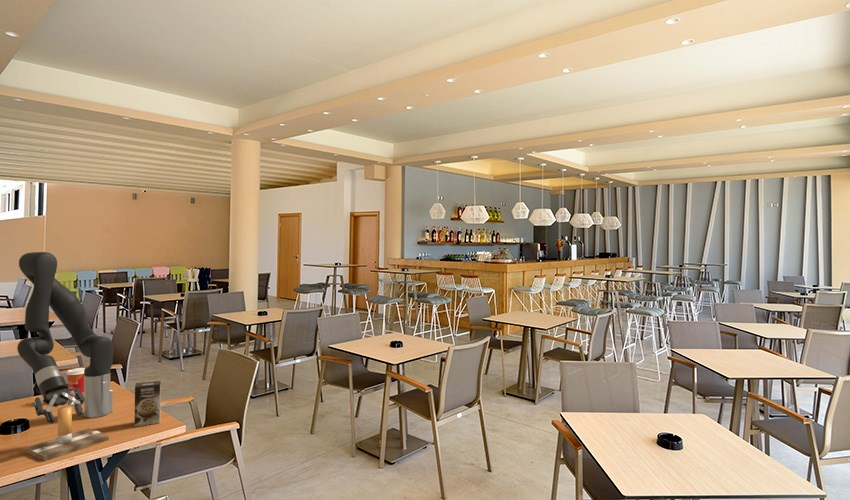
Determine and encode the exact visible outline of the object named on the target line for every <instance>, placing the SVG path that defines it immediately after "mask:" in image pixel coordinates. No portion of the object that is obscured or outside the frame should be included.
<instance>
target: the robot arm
mask: <svg viewBox="0 0 850 500" xmlns="http://www.w3.org/2000/svg"><path fill="white" fill-rule="evenodd" d="M18 267H19V269H20V271H21V272H22V274H23V275H24V276H25V277H26V278H27V279H28V280H29V281H30V283H31V284H32V285H33V289H32V292H31V295H30V297H29V299H28V302H27V305H26V307H25V314H24V315H25V316H24V329H25V330H26V331H27V332H34V333H37V334H38V337H28V338H27V337H26V338H23V339H21V340H20V341H19V342H18V344H17V349H16V350H17V352H18V355H19V356H20V357H21V359H22V360H23V361H24V362H25V363H26V364H27V365H28V366H29V368H31V370H32V372H33V374H34V377H35V382H36V385H37V386H38V389H39V392H40V394H41V395H42V397H36V398H35V399H34V400H33V407H34V410H35V413H36V416H38V417H39V416H44V417H45V419H46V422H47V423H48V424H54V422H55V420H56V419H55V417H54V415H53V412H52V411H51V410H52V407H53V408H57V407H59V406H65V405H67V406H70V407H72V408H74V411H75V413H76V415H77V417H80V416H82V415H83V416H84V417H85V418H98V417H99V418H100V417H103V416H106V415H108V414H110V413H113V411H114V409H113V407H114V405H113V404H114V403H113V402H114V401H113V398H114V397H113V396H114V395H113V394H114V393H113V391H114V390H113V389H111V368H112V367H113V362H114V345H113V344H114V343H113V341H112V340H111V338H109V337H106V336H102V335H98V334H96V333H95V332H94V330H93V329H92V328H91V326H90V325H89V323H88V319H87V312H86V309H85V307H84V305H83V304H82V302H81V301H80V299H79V298H78V297H77V295H76V294H75V293H74V292H73V291H72V290H70V289H69V288H68V287H67V286H65V285H64V284H62V283H61V282H60V281H59V280H57V278H56V273H57V269H58V268H57V267H58V259H57V258H56V256H55V255H54V254H52V253H50V252H47V251H38V252H37V251H36V252H35V251H34V252H31V251H30V252H27V253H23V254H22V256H21V257H19V260H18ZM50 309H51V310H52V311H53V313H54V315H56V317H57V319H58V320H59V321H60V322H61V323H62V324H63V326H64V328H65V329H66V330H67V332H68V333H69V334H70V335H71V337H72V338H73V340H74V342H75V344H76V346H77V348H78V350H79V352H80V353H81V354H82V355H83V356H85V357H86V358H89V359H90V360H89V366H87V367H86V368H85V370H84V396H83V395H82V393H81V391H80V389H79V388H76V390H73V391H70V390H68V383H66V380H65V378H64V375H63V373H62V372H61V370H60V369H59V367H58V364H57V362H56V360H55V358H54V356H52V355H49V354H50V353H51V352H52V351H53V349H54V344H55V343H54V340H53V337H52V334H51V329H50V324H49V323H50V322H49V321H50ZM70 395H73V396H75V397H76V399H77V400H76V399H75V398H74V397H72V396H70ZM69 400H70V401H69ZM43 403H45V404H47V406H46V409H44V406H43V405H42V404H43ZM82 405H83V406H84V407H83V408H82ZM82 413H83V414H82Z"/></svg>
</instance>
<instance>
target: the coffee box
mask: <svg viewBox="0 0 850 500" xmlns="http://www.w3.org/2000/svg"><path fill="white" fill-rule="evenodd" d="M161 384H162V382H161V380H155V381H152V380H151V381H143V382H135V386H134V424H133V425H134V427H135V428H137V427H143V425H144V426H149V424H151V425H156V424H155V423H158V424H160V423H161V399H162V398H161V396H162V395H161V393H162V391H161V386H162V385H161Z"/></svg>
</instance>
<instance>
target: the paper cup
mask: <svg viewBox="0 0 850 500" xmlns="http://www.w3.org/2000/svg"><path fill="white" fill-rule="evenodd" d="M84 370H85V368H84V367H79V368H78V367H77V368H72V369H68V370H67V372H66V378H67V387H68V390H70V391H73V390H76V388H79V389H80V391H81V393H82V395H83V396H84ZM70 396H72V397H74V398H75V399H76V397H75V396H73V395H70ZM76 400H77V399H76ZM68 401H70V400H68Z"/></svg>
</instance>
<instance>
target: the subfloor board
mask: <svg viewBox="0 0 850 500" xmlns="http://www.w3.org/2000/svg"><path fill="white" fill-rule="evenodd" d="M106 441H109V435H108V434H105V433H102V432H101V431H99V430H94V429H92V428H90V427H89V428H86V429H82V430H79V431H76V432H72V441H71V442H69V443H66V444H58V437H56V438H52V439H50V440H46V441H43V442H39V443H36V444H33V445H30V446H27V447H25V450H24V452H25V453H27V454H29V455H31V456H32V457H35V458H37V459H39V460H41V461H44V462H47V461H49V460H52V459H55V458H59V457H61V456H64V455H68V454H70V453H73V452H76V451H79V450H82V449H85V448H87V447H91V446H94V445H96V444H100V443H103V442H106Z"/></svg>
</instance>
